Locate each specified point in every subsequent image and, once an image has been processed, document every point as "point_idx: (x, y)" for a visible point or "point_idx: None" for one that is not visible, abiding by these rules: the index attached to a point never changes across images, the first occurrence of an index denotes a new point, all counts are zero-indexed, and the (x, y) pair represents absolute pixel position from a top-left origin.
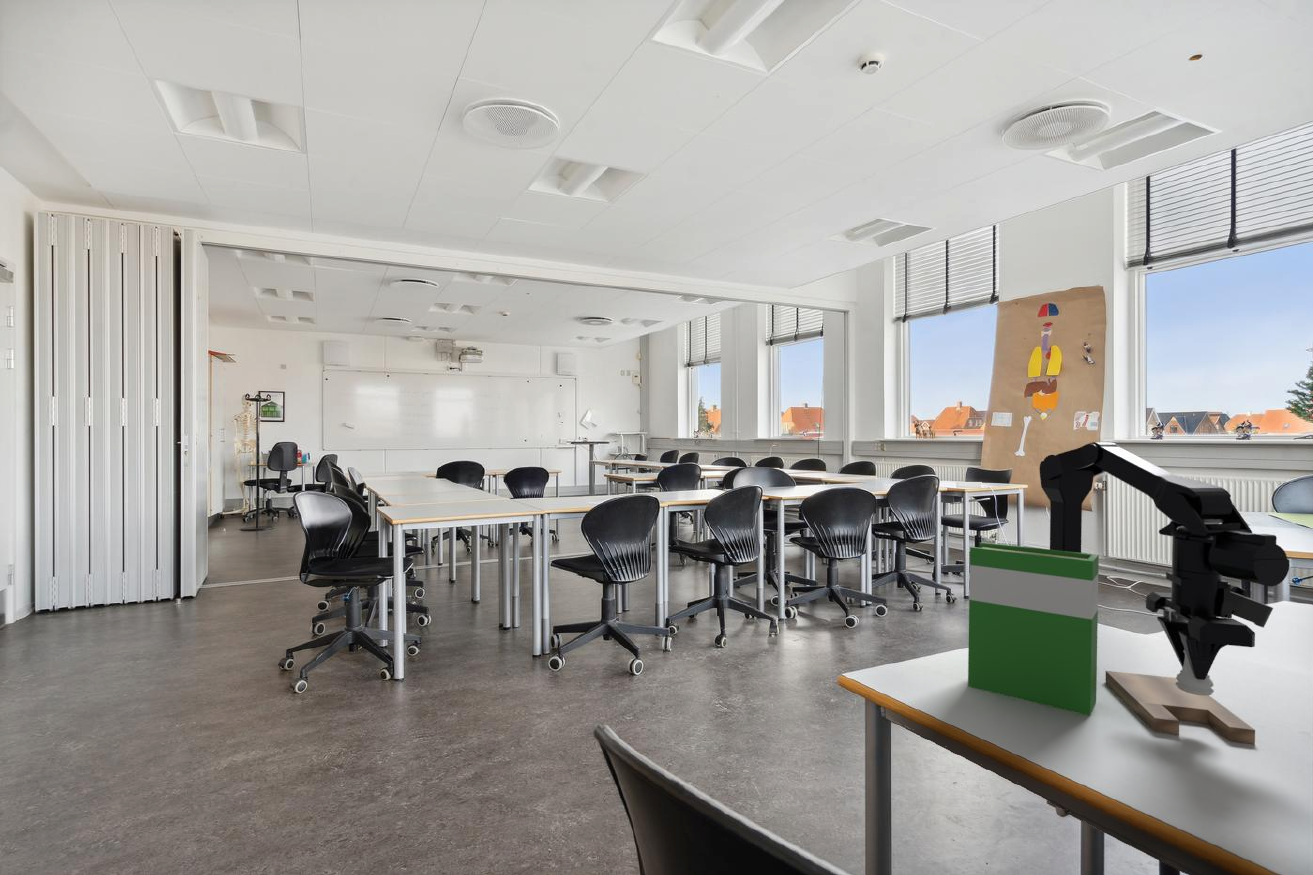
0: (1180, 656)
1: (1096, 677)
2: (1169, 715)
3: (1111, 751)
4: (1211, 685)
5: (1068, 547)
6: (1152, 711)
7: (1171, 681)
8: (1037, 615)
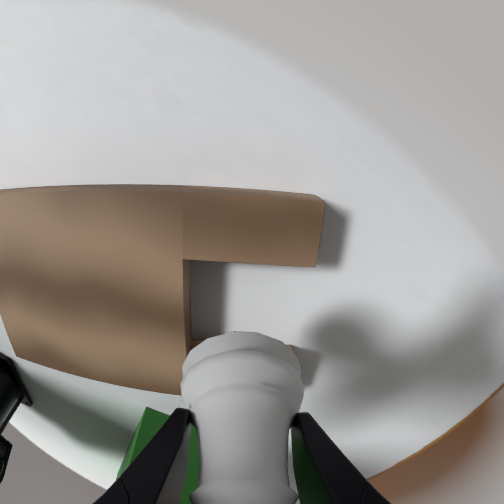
0: (183, 477)
1: (137, 447)
2: None
3: (364, 434)
4: (294, 371)
5: None
6: None
7: (1, 246)
8: None
